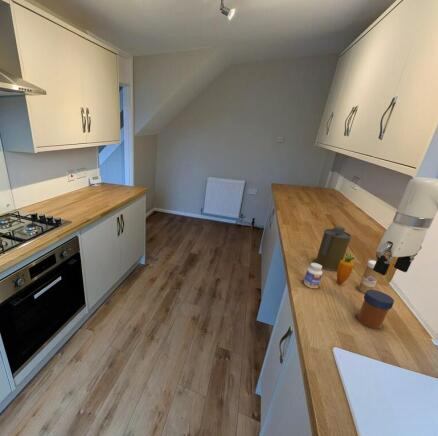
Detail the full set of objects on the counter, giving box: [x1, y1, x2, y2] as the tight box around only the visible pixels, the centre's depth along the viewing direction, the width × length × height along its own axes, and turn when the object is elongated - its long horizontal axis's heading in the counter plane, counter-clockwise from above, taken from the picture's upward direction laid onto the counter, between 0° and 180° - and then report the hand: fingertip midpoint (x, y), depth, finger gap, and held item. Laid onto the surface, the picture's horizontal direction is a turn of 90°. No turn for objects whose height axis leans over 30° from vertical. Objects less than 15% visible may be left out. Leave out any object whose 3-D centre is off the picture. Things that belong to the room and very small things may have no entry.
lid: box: [363, 289, 395, 311], centre depth 79 cm, size 7×7×3 cm
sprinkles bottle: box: [357, 259, 381, 294], centre depth 96 cm, size 5×5×13 cm
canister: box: [314, 226, 353, 272], centre depth 114 cm, size 11×10×20 cm
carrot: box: [336, 251, 356, 285], centre depth 100 cm, size 5×5×15 cm
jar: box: [357, 299, 389, 330], centre depth 81 cm, size 6×6×10 cm
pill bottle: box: [303, 262, 323, 289], centre depth 100 cm, size 5×5×10 cm
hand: (389, 271), depth 75 cm, fingers open, 8 cm apart
